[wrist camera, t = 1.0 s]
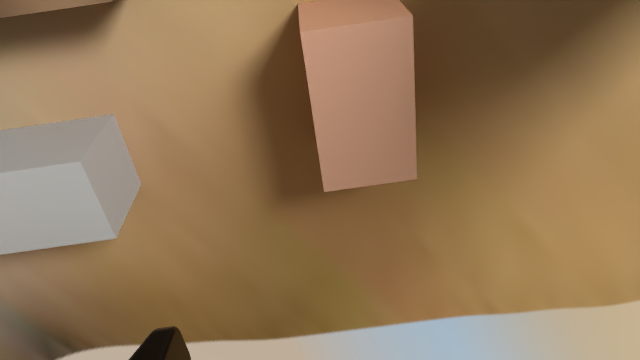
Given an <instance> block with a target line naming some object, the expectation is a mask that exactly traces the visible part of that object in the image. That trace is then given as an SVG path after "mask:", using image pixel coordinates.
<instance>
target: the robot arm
mask: <svg viewBox="0 0 640 360" xmlns="http://www.w3.org/2000/svg"><path fill="white" fill-rule="evenodd" d="M129 360H191V358H190V354H189V351H188V349H187V347H186V344H185V342H184V339H183V337H182V335H181V332H180V330H179V329H178V328H177V327H174V326H173V327H165V328H158V329H155V330H154V331H152V332H151V333H150V335H149V336H148V337H147V338H146V339H145V341H144V342H143V343H142V344H141V346H140V347H139V348H138V349H137V350H136V352H135V353H134V354H133V355H132V357H131V358H130V359H129Z"/></svg>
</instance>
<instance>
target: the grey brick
mask: <svg viewBox="0 0 640 360" xmlns="http://www.w3.org/2000/svg"><path fill="white" fill-rule="evenodd" d="M140 186H141V182H140V179H139V177H138V174H137V172H136V169H135V167H134V164H133V162H132V159H131V157H130V154H129V152H128V149H127V147H126V144H125V142H124V139H123V137H122V134H121V131H120V129H119V126H118V124H117V121H116V119H115V116H114V114H111V115H104V116H97V117H90V118H83V119H76V120H69V121H63V122H56V123H49V124H42V125H35V126H28V127H21V128H15V129H8V130H1V131H0V255H2V254H9V253H17V252H24V251H31V250H38V249H45V248H52V247H59V246H66V245H73V244H81V243H88V242H95V241H102V240H109V239H116V238H117V236H118V233H119V231H120V229H121V227H122V225H123V223H124V220H125V218H126V216H127V214H128V212H129V209H130V207H131V205H132V203H133V201H134V199H135V196H136V194H137V192H138V190H139V188H140Z"/></svg>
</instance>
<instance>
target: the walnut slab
mask: <svg viewBox="0 0 640 360" xmlns="http://www.w3.org/2000/svg"><path fill="white" fill-rule="evenodd" d="M112 1H113V0H0V18H4V17H11V16H18V15H25V14H32V13H38V12H45V11H52V10H59V9H66V8H72V7H79V6H86V5H93V4H100V3H107V2H112Z"/></svg>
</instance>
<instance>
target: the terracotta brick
mask: <svg viewBox="0 0 640 360" xmlns="http://www.w3.org/2000/svg"><path fill="white" fill-rule="evenodd" d="M298 12H299V25H300V35H301V42H302V48H303V55H304V62H305V68H306V75H307V82H308V88H309V95H310V102H311V108H312V115H313V122H314V128H315V135H316V142H317V148H318V155H319V161H320V168H321V175H322V181H323V188H324V192H329V191H336V190H343V189H350V188H357V187H365V186H372V185H379V184H386V183H393V182H401V181H408V180H415V179H417V156H416V115H415V74H414V33H413V15H412V14H411V13H410V12H409V10H408V9H407V8H406V7H405V6H404V5H403V4H402V3H401V1H400V0H320V1H313V2H306V3H299V4H298Z"/></svg>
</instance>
